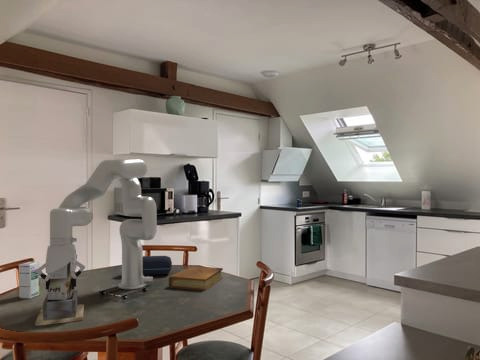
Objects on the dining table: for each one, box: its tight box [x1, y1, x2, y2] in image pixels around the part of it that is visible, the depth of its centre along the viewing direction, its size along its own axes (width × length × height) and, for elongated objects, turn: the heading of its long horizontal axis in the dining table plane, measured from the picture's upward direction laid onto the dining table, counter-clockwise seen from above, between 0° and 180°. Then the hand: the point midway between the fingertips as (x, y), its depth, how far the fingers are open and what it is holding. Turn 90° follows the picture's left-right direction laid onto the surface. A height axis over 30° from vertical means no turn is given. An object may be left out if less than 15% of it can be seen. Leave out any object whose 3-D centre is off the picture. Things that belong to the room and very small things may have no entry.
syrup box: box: [18, 261, 41, 299], centre depth 163 cm, size 6×6×14 cm
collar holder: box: [34, 289, 85, 327], centre depth 139 cm, size 15×15×7 cm
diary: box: [168, 265, 224, 291], centre depth 185 cm, size 23×19×6 cm
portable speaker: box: [143, 255, 173, 276], centre depth 201 cm, size 25×10×10 cm, turn 96°
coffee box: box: [47, 254, 78, 300], centre depth 140 cm, size 9×6×16 cm
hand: (61, 289), depth 139 cm, fingers closed on coffee box, 7 cm apart
